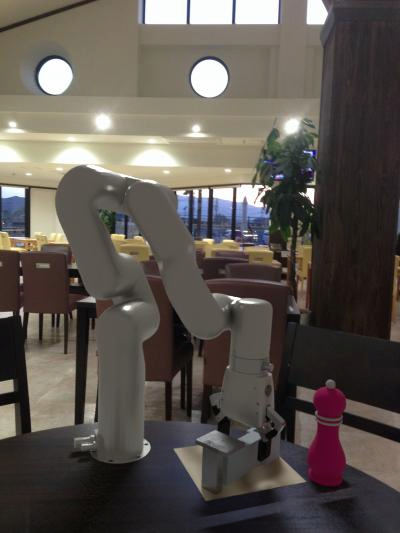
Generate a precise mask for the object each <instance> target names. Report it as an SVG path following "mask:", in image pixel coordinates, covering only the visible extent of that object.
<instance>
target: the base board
mask: <svg viewBox="0 0 400 533" xmlns="http://www.w3.org/2000/svg"><path fill="white" fill-rule="evenodd" d="M173 450H174V452H175V454H176V455H177V457H178V458H179V460H180V462H181V464H182V465H183V466H184V468H185V470H186V471H187V473H188V475H189V476H190V478H191V479H192V481H193V482H194V484H195V486H196V488H197V489H198V491H199V492H200V494H201V495H202V497H203V499H204V501H206V502H208V501H212V500H218V499H223V498H228V497H233V496H238V495H244V494H251V493H256V492H261V491H265V490H272V489H277V488H282V487H287V486H292V485H298V484H302V483H303V484H304V483H307V481H306V480H305V478H303V477H302V476H301V475H300V474H299V473H298V472H297V471H296V470H294V468H292V467H291V465H290V464H289V463H287V462H286V461H285V460H284V459H283V458H282V457H281V456H280V455H279V458H277V459H276V460H274V461H272V462H271V463H269V464H268V465H266V466H265V465H263V464H261V465H259V466H258V467H256V468H254V469H253V470H251V471H250V472H248V473H246V474H245V475H243V476H242V477H240V478H239V479H237V480H235V481H234V482H232V483H231V484H229V485H228V486H226V485H224V484H222V492H220V493H219V494H217V495H215V494H213V493H211V492H210V491H208V490H206V489H204V488H202V487H201V481H202V453H203V447H202V446H199V445H197V444H196V445H191V446H190V445H189V446H185V447H175V448H173Z"/></svg>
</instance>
